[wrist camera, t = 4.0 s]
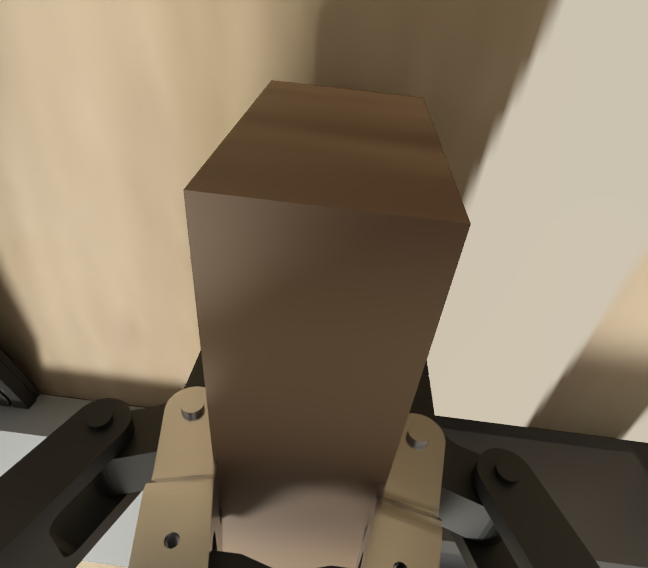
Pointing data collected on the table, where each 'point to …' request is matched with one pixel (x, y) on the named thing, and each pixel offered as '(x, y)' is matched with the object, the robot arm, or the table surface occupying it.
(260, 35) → the table surface
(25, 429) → the board
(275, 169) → the brown wooden block
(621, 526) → the tray
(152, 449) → the robot arm
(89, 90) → the table surface
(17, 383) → the hairbrush
